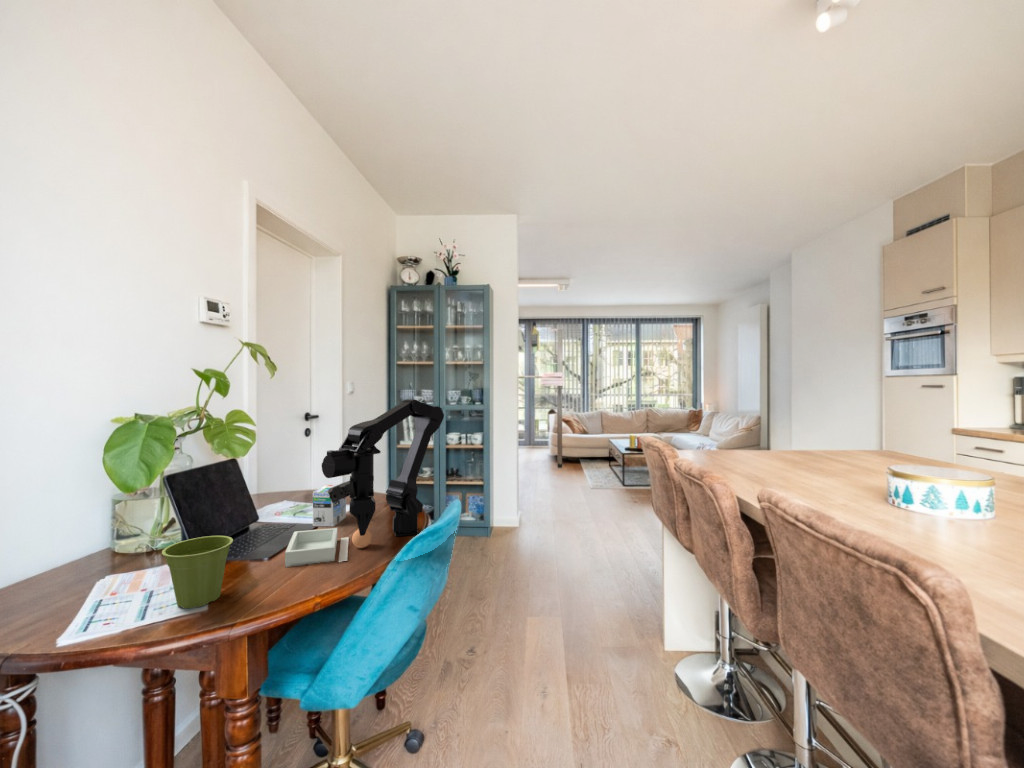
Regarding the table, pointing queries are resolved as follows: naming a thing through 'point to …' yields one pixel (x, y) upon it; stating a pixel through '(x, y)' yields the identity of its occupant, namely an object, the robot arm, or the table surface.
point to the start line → (343, 549)
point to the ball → (361, 539)
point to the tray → (311, 547)
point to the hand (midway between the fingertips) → (362, 529)
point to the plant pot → (197, 569)
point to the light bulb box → (327, 508)
